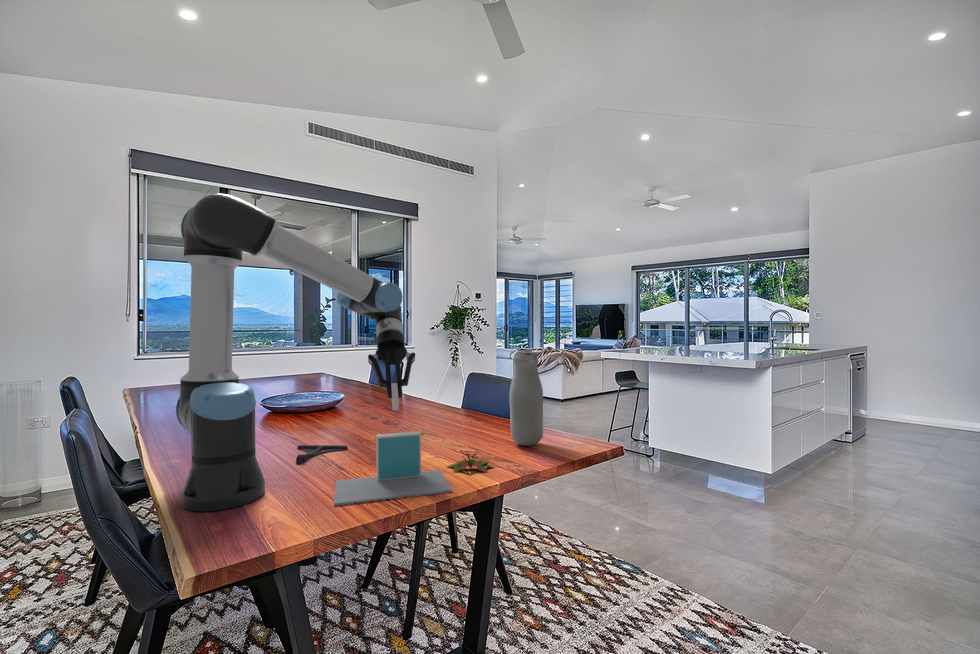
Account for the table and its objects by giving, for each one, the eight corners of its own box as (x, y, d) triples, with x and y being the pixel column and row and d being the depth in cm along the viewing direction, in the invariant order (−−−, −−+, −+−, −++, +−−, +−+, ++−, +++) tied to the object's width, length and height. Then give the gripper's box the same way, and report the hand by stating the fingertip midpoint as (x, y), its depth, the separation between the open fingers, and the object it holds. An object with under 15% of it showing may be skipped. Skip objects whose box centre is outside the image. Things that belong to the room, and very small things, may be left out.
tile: (377, 481, 104) (376, 437, 104) (376, 477, 107) (376, 434, 107) (421, 476, 107) (420, 433, 107) (419, 473, 110) (419, 431, 110)
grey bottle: (543, 440, 140) (542, 349, 140) (543, 450, 130) (543, 351, 130) (510, 440, 141) (510, 349, 141) (508, 449, 131) (508, 351, 131)
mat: (333, 506, 92) (333, 503, 91) (335, 482, 105) (335, 480, 105) (452, 492, 99) (452, 489, 99) (439, 471, 112) (439, 469, 112)
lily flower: (437, 468, 116) (437, 450, 116) (473, 459, 124) (473, 442, 124) (467, 481, 107) (467, 461, 107) (504, 469, 115) (504, 451, 115)
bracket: (271, 466, 120) (271, 455, 120) (299, 450, 135) (299, 440, 135) (325, 467, 119) (325, 456, 119) (347, 451, 133) (347, 441, 133)
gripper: (366, 329, 126) (368, 400, 111) (414, 327, 130) (422, 396, 114) (366, 347, 132) (369, 417, 116) (412, 345, 135) (421, 413, 120)
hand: (395, 407), depth 115 cm, fingers closed
